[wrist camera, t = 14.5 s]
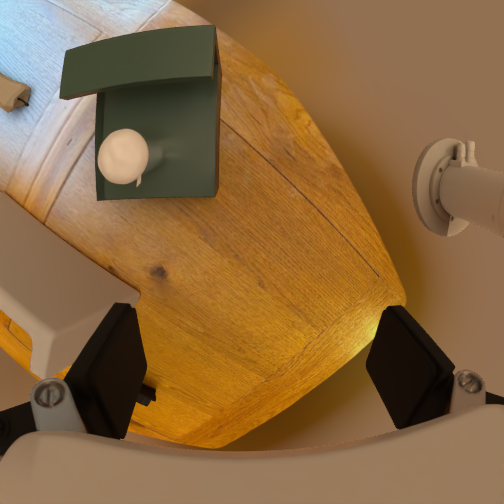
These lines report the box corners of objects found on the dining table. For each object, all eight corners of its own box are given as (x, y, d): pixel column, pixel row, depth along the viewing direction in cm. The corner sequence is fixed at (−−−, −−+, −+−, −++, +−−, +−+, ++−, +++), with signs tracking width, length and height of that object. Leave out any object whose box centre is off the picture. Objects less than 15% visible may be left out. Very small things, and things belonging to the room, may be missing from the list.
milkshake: (153, 189, 29) (119, 206, 19) (122, 155, 27) (77, 159, 18) (183, 160, 28) (159, 163, 18) (151, 125, 26) (115, 115, 17)
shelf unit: (123, 82, 31) (65, 50, 16) (221, 74, 32) (215, 24, 17) (121, 190, 36) (61, 216, 21) (218, 188, 37) (208, 212, 22)
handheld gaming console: (100, 393, 47) (94, 406, 38) (104, 363, 49) (98, 370, 41) (151, 406, 51) (154, 420, 42) (156, 376, 53) (159, 386, 44)
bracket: (34, 232, 46) (-81, 251, 17) (48, 190, 44) (-80, 194, 15) (121, 334, 44) (-13, 419, 15) (143, 292, 41) (-24, 375, 12)
